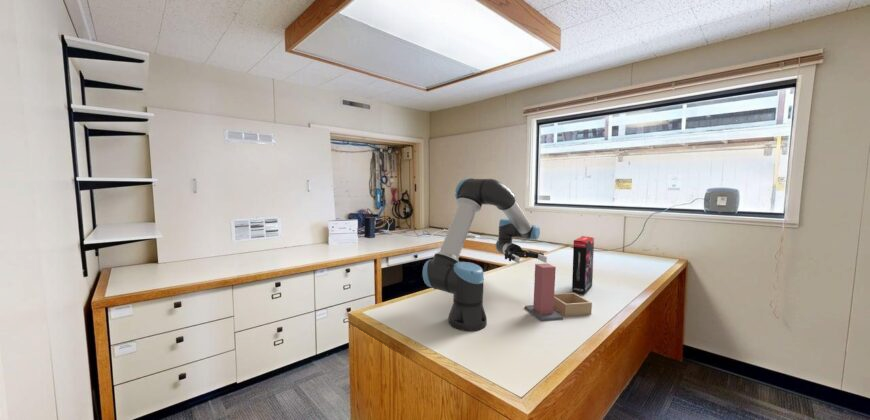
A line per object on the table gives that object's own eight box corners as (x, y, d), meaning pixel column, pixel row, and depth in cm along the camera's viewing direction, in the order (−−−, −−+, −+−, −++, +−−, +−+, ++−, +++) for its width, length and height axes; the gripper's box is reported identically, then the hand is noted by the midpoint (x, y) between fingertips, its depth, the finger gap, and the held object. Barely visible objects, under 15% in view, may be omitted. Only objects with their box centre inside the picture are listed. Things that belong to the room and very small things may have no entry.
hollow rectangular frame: (565, 316, 138) (565, 304, 138) (548, 304, 151) (549, 294, 150) (591, 313, 141) (591, 302, 140) (573, 303, 153) (573, 292, 153)
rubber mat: (541, 321, 133) (541, 318, 133) (524, 307, 147) (524, 305, 147) (563, 319, 135) (563, 316, 135) (545, 306, 149) (545, 304, 149)
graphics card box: (584, 295, 164) (587, 241, 162) (570, 292, 168) (573, 239, 166) (592, 286, 178) (595, 237, 175) (578, 284, 182) (581, 235, 179)
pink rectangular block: (540, 314, 137) (542, 267, 135) (533, 308, 143) (535, 263, 141) (553, 313, 139) (555, 267, 137) (545, 307, 144) (547, 263, 143)
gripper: (533, 257, 174) (556, 267, 153) (489, 258, 169) (506, 268, 148) (534, 243, 174) (557, 251, 153) (490, 243, 169) (507, 252, 148)
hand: (532, 259), depth 151 cm, fingers open, 13 cm apart
